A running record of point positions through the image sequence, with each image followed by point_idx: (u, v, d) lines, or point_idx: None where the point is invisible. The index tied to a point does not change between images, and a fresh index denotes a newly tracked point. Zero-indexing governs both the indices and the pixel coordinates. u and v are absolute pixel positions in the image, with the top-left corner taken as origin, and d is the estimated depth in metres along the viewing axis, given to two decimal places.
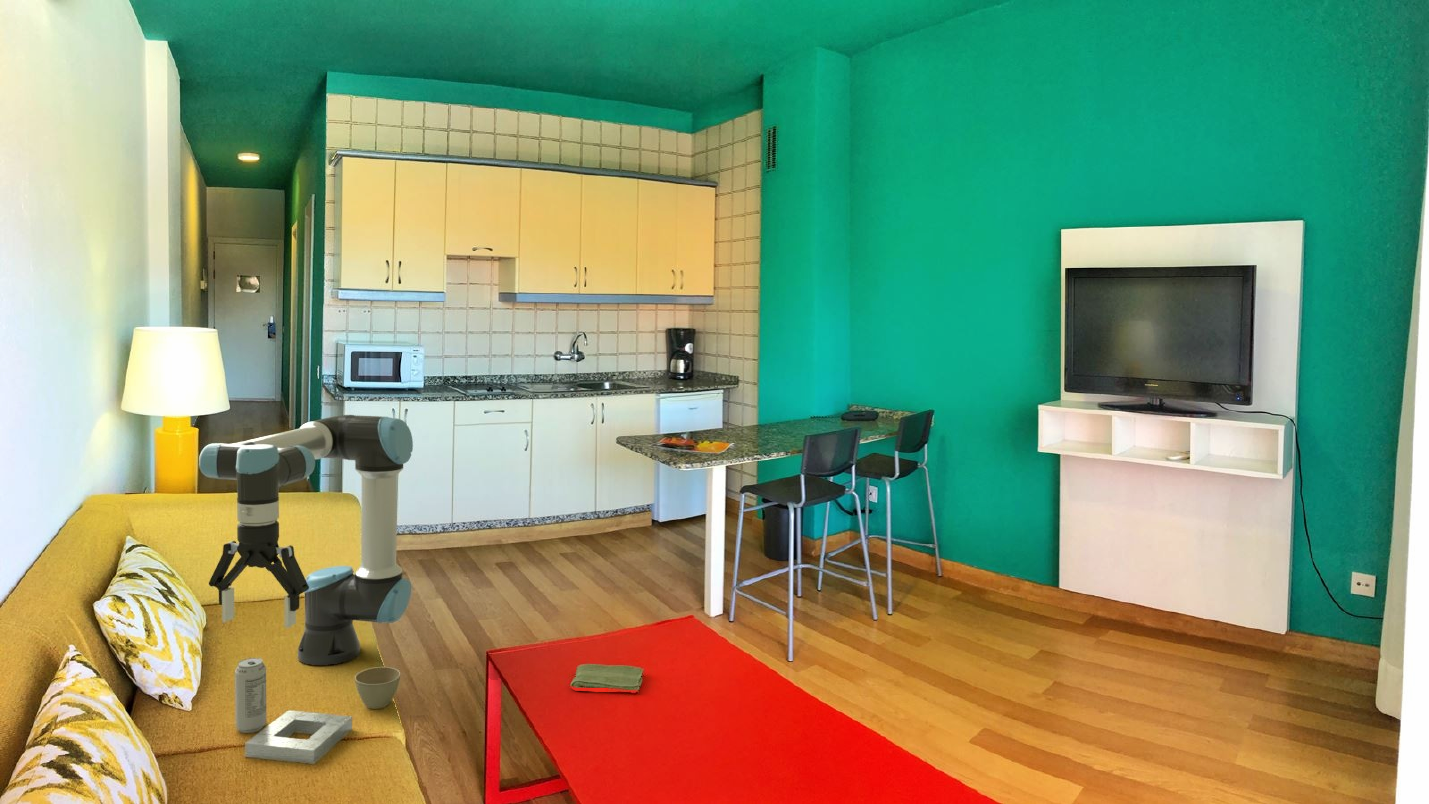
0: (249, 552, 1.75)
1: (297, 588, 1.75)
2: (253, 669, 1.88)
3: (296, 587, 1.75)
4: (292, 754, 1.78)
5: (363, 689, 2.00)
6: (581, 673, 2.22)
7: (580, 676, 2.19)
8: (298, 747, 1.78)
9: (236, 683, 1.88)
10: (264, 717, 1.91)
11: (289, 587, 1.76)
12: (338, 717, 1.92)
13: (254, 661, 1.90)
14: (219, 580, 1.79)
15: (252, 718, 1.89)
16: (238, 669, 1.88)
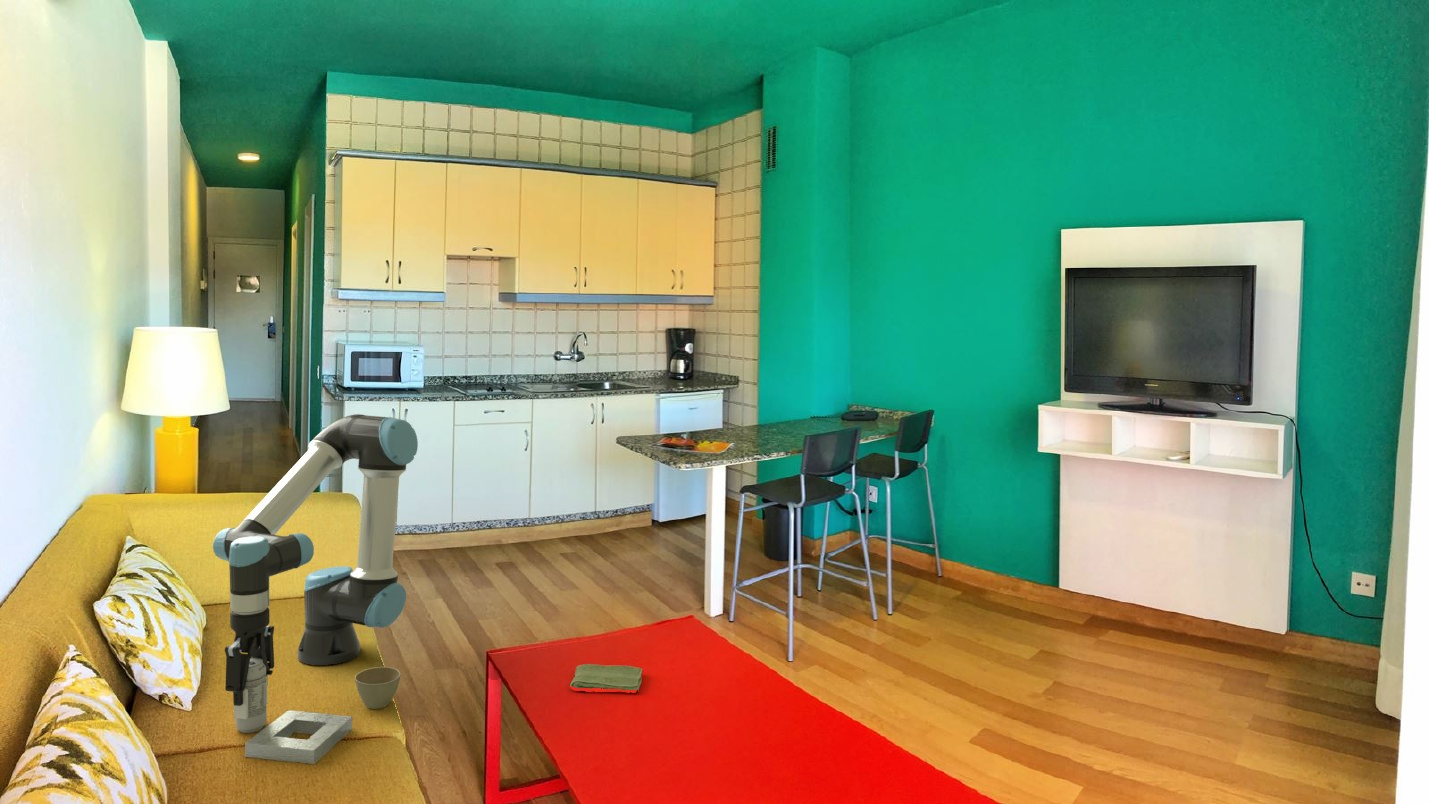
0: None
1: None
2: (253, 669, 1.88)
3: None
4: (292, 754, 1.78)
5: (363, 689, 2.00)
6: (581, 673, 2.22)
7: (579, 676, 2.19)
8: (298, 747, 1.78)
9: None
10: (264, 717, 1.91)
11: None
12: (338, 717, 1.92)
13: (254, 661, 1.90)
14: None
15: (252, 718, 1.89)
16: None
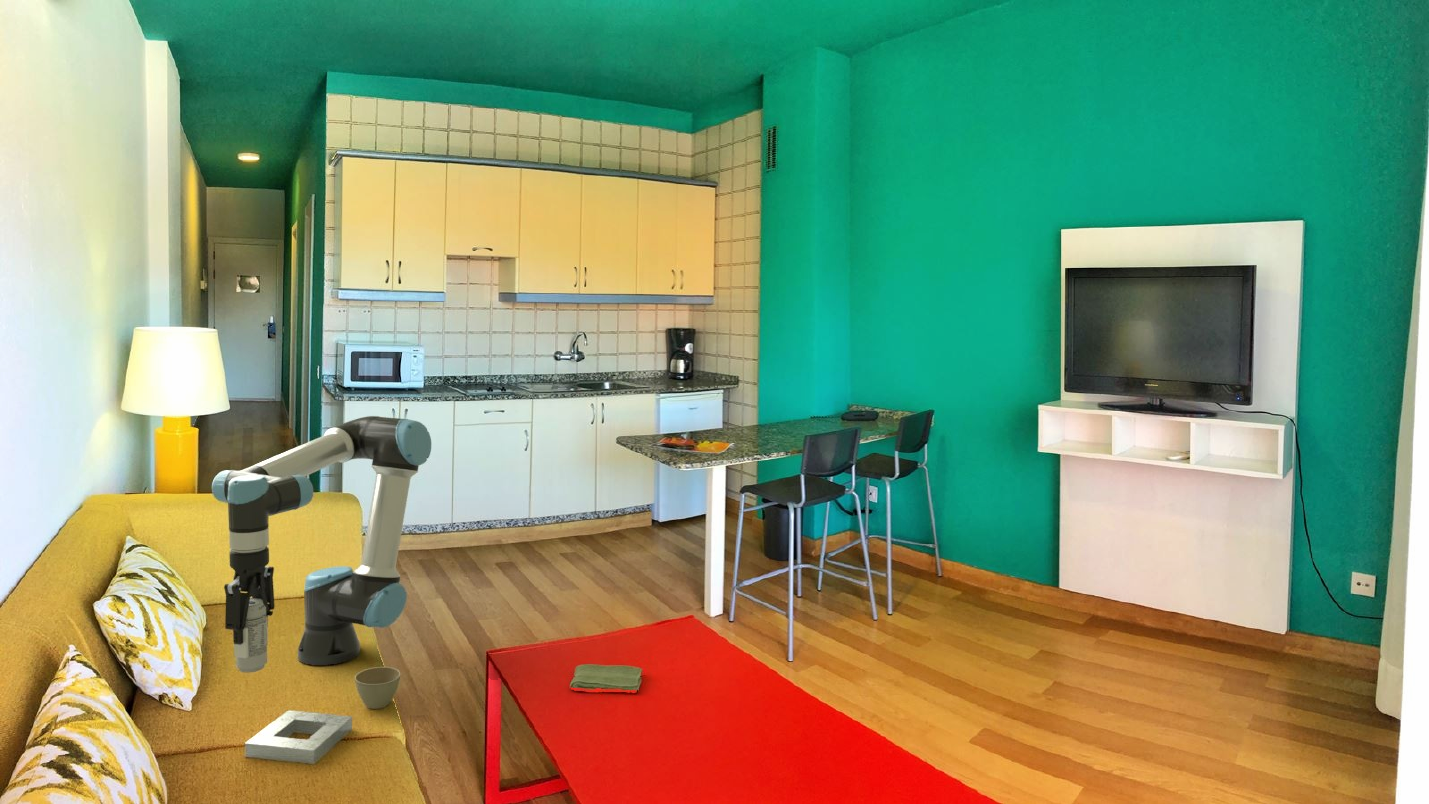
0: None
1: None
2: (253, 608, 1.87)
3: None
4: (292, 754, 1.78)
5: (363, 689, 2.00)
6: (580, 673, 2.21)
7: (579, 676, 2.19)
8: (298, 747, 1.78)
9: None
10: (265, 657, 1.90)
11: None
12: (338, 717, 1.92)
13: (253, 601, 1.89)
14: None
15: (253, 657, 1.87)
16: None
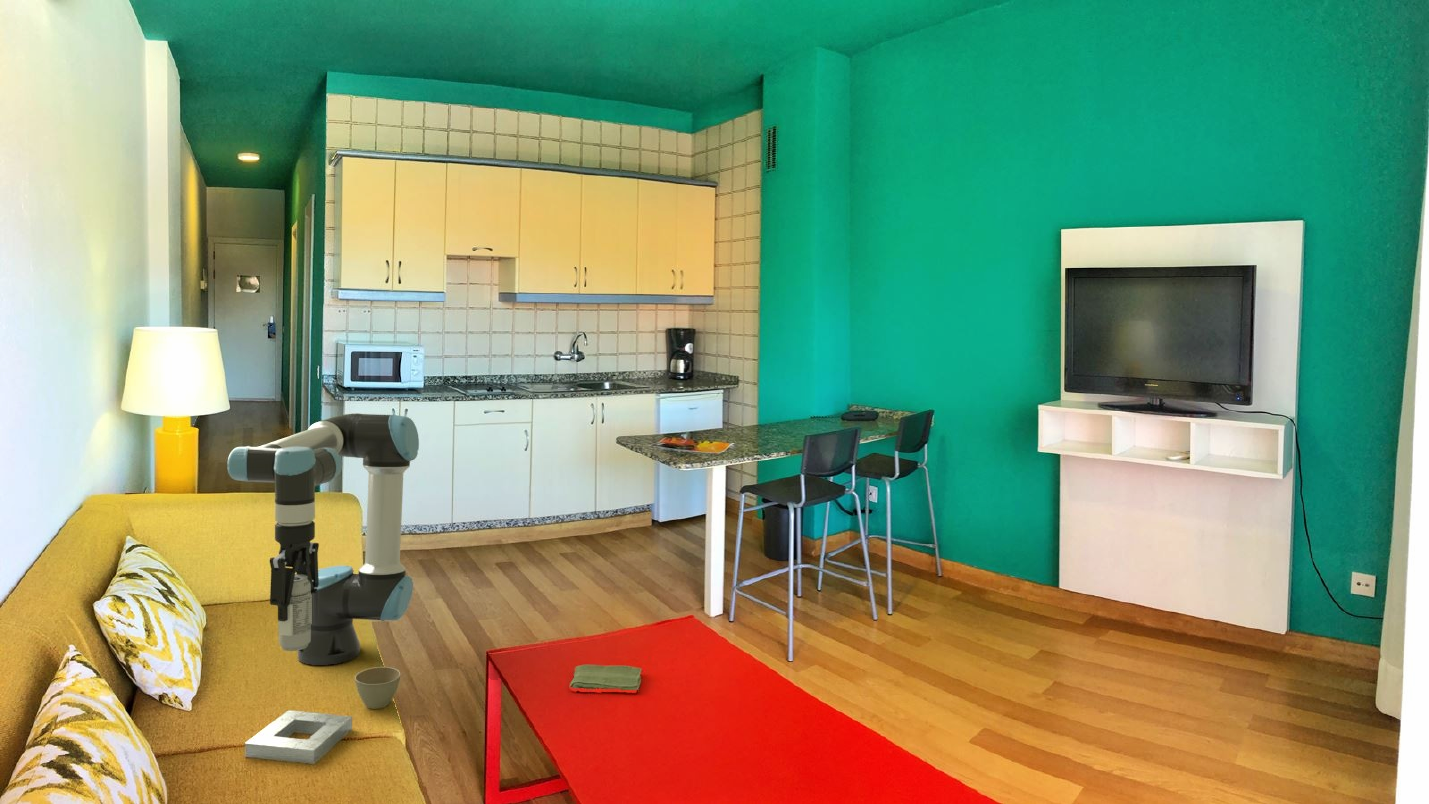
0: None
1: None
2: (298, 584, 1.80)
3: None
4: (292, 754, 1.78)
5: (363, 689, 2.00)
6: (580, 673, 2.21)
7: (579, 677, 2.19)
8: (298, 747, 1.78)
9: None
10: (308, 636, 1.83)
11: None
12: (338, 717, 1.92)
13: (298, 577, 1.83)
14: None
15: (297, 635, 1.81)
16: None
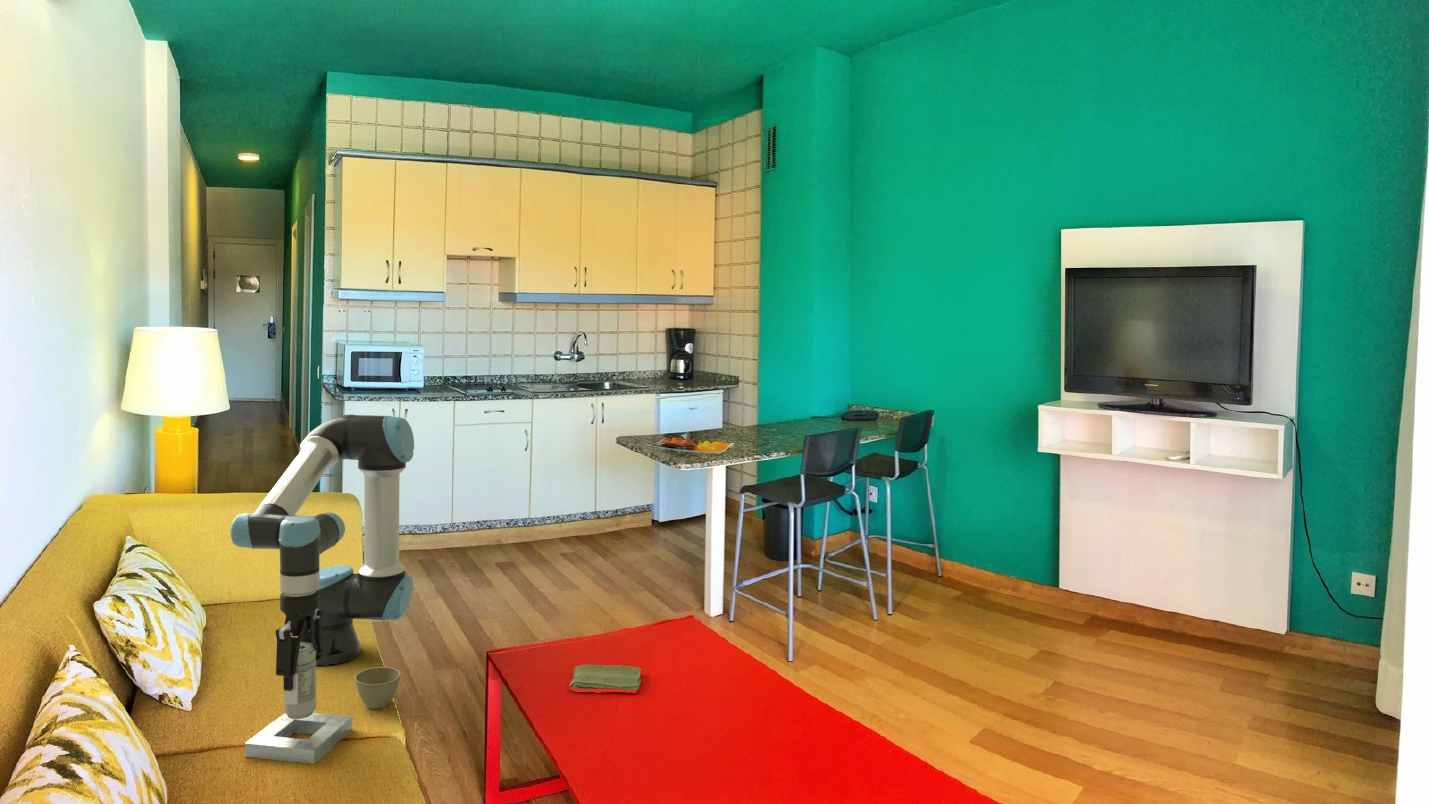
0: None
1: None
2: (303, 653, 1.82)
3: None
4: (292, 754, 1.78)
5: (363, 689, 2.00)
6: (580, 673, 2.21)
7: (579, 677, 2.19)
8: (298, 747, 1.78)
9: None
10: (314, 703, 1.85)
11: None
12: (338, 717, 1.92)
13: (303, 645, 1.84)
14: None
15: (302, 703, 1.82)
16: None
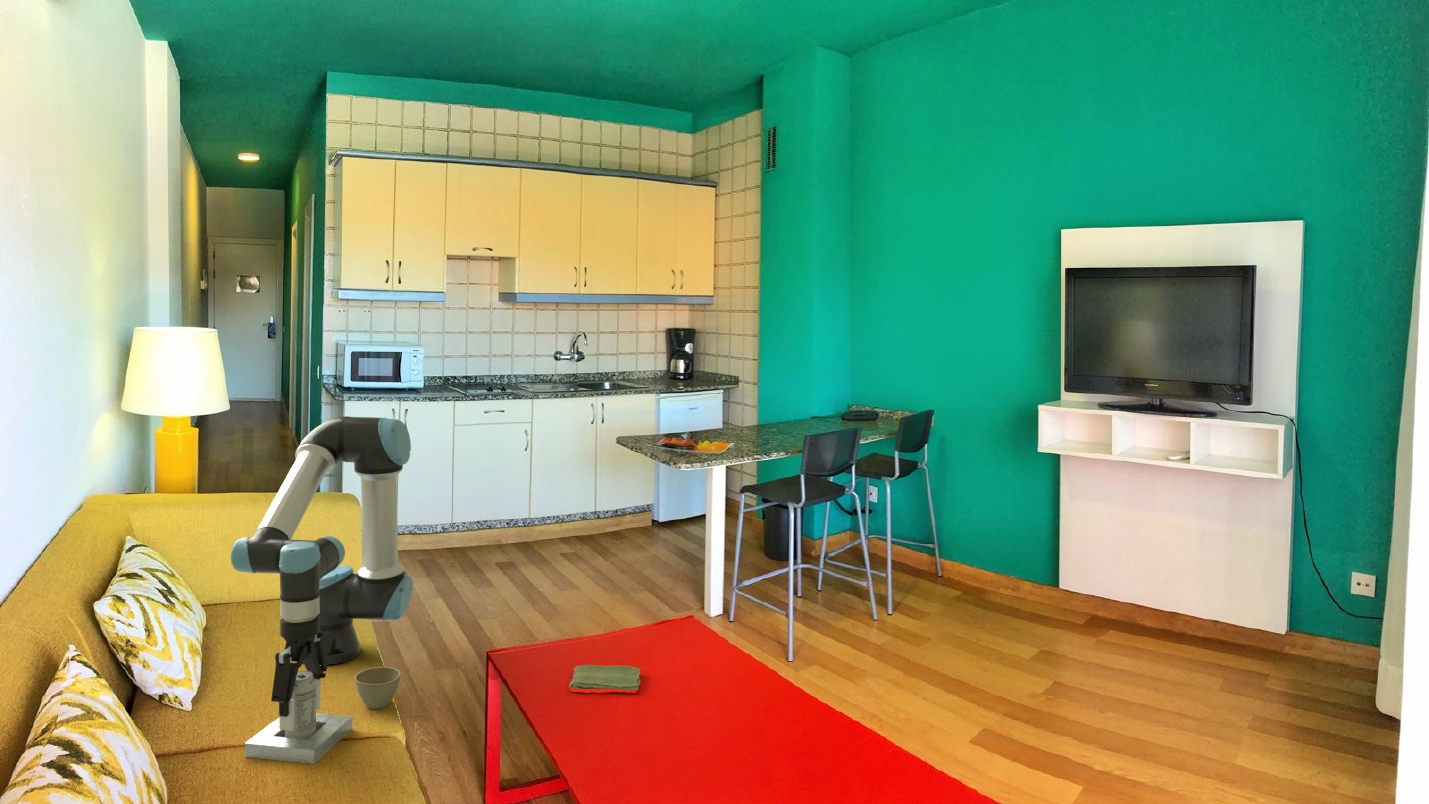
0: None
1: None
2: (303, 682, 1.83)
3: None
4: (292, 754, 1.78)
5: (363, 689, 2.00)
6: (579, 674, 2.21)
7: (578, 677, 2.19)
8: (298, 747, 1.78)
9: None
10: (314, 732, 1.86)
11: None
12: (338, 717, 1.92)
13: (303, 675, 1.85)
14: None
15: (303, 733, 1.83)
16: None
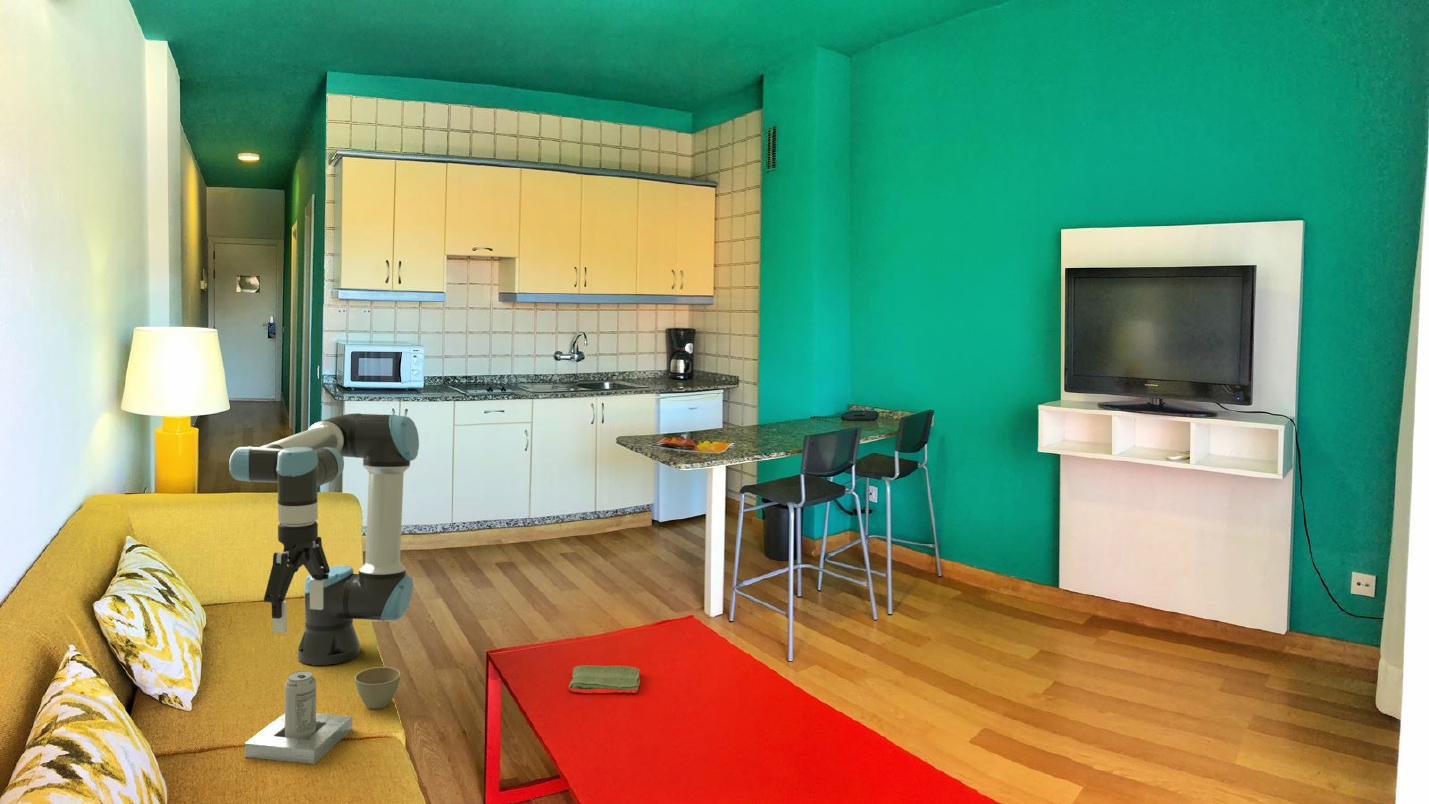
0: None
1: None
2: (304, 682, 1.83)
3: None
4: (292, 754, 1.78)
5: (363, 689, 2.00)
6: (579, 674, 2.21)
7: (578, 678, 2.18)
8: (298, 747, 1.78)
9: (286, 697, 1.82)
10: (314, 732, 1.86)
11: None
12: (338, 717, 1.92)
13: (303, 675, 1.85)
14: None
15: (303, 733, 1.83)
16: (288, 683, 1.83)
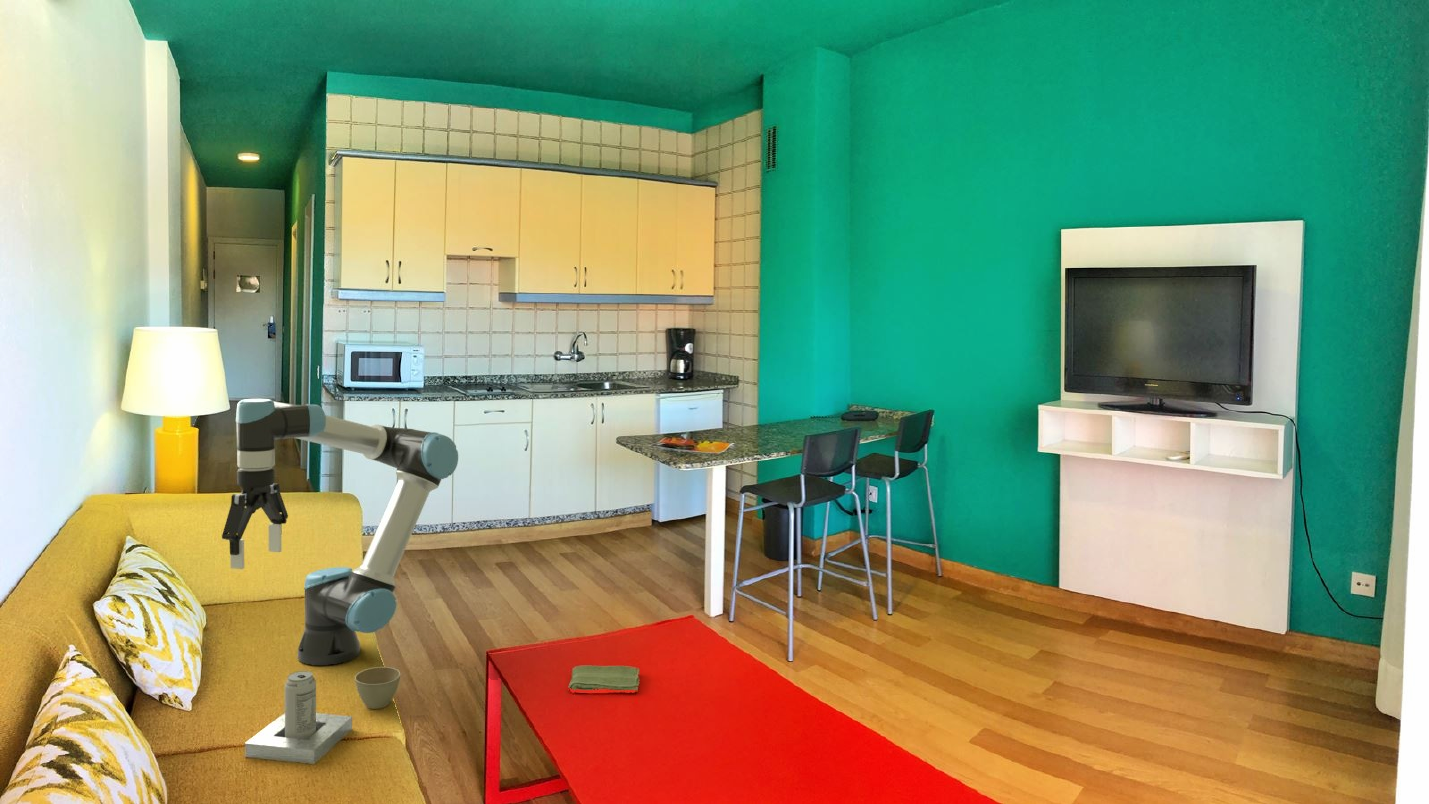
0: None
1: None
2: (303, 682, 1.83)
3: None
4: (292, 754, 1.78)
5: (363, 689, 2.00)
6: (578, 674, 2.21)
7: (578, 678, 2.18)
8: (298, 747, 1.78)
9: (286, 697, 1.82)
10: (314, 732, 1.86)
11: None
12: (338, 717, 1.92)
13: (303, 675, 1.85)
14: None
15: (303, 733, 1.83)
16: (288, 683, 1.83)
